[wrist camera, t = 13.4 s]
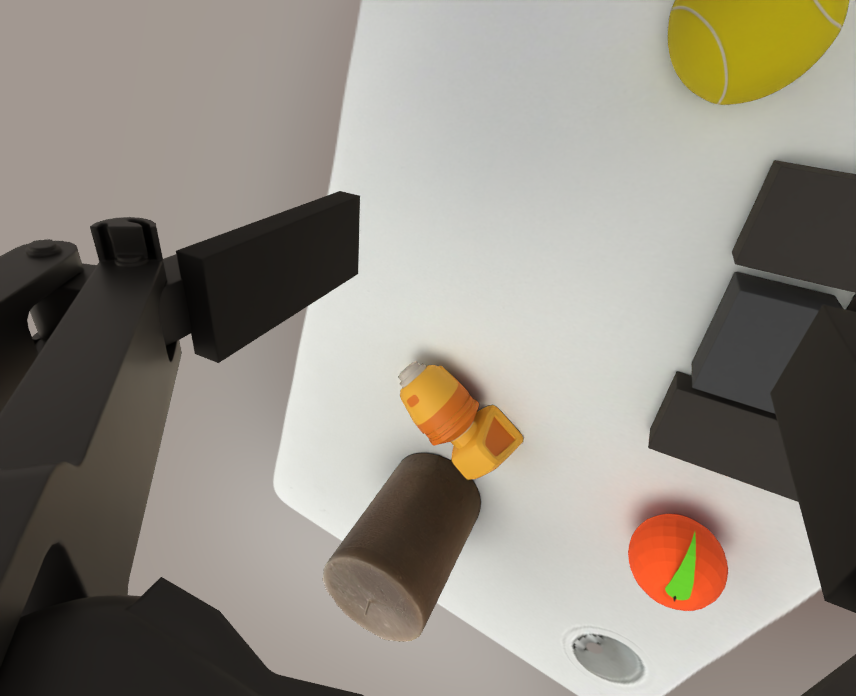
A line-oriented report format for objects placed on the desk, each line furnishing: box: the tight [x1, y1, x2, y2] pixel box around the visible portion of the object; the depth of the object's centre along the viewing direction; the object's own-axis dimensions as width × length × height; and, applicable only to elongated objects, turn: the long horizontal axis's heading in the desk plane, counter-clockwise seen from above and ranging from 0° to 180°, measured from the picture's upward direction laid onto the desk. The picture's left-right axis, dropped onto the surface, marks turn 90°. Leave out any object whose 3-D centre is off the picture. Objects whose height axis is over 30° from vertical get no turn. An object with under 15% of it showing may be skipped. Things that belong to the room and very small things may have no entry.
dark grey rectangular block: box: [692, 272, 843, 414], centre depth 31 cm, size 7×6×4 cm
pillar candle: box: [323, 453, 481, 642], centre depth 45 cm, size 10×10×15 cm
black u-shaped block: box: [648, 160, 856, 502], centre depth 30 cm, size 20×14×2 cm
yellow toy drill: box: [398, 361, 523, 480], centre depth 43 cm, size 5×6×12 cm
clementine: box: [628, 514, 728, 611], centre depth 38 cm, size 8×7×7 cm
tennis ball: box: [668, 0, 849, 105], centre depth 23 cm, size 7×7×7 cm
